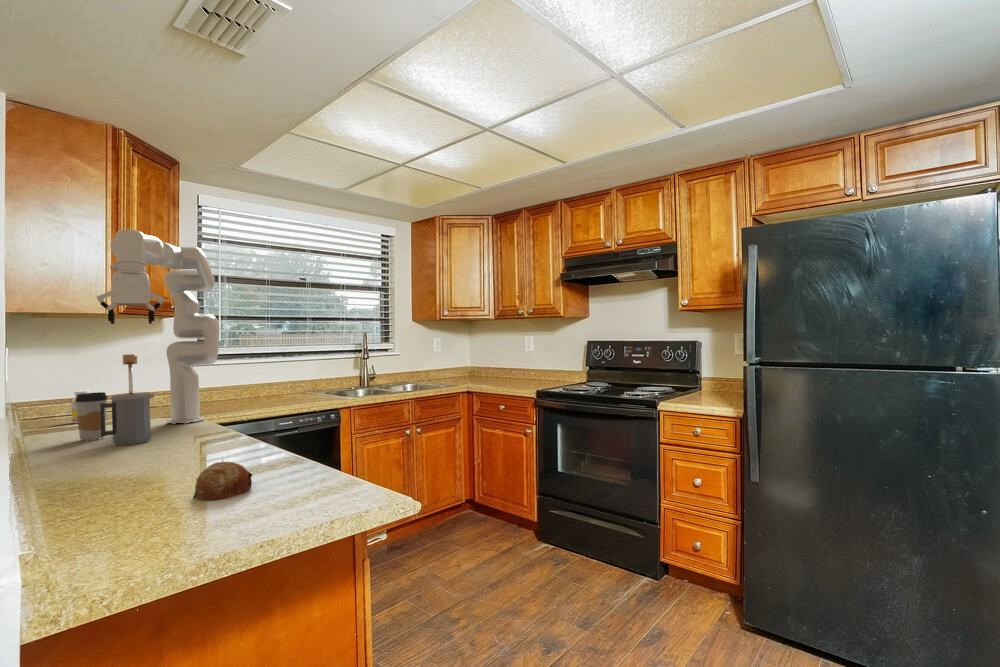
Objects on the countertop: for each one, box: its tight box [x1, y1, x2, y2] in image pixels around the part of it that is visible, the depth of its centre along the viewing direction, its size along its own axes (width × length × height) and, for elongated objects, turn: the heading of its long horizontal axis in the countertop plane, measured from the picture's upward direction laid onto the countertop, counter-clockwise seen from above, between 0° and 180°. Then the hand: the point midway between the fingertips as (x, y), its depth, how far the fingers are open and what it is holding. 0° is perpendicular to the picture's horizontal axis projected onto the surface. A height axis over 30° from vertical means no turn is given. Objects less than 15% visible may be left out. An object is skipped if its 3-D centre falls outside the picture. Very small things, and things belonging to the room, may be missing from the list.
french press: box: [100, 391, 155, 446], centre depth 157 cm, size 9×13×15 cm
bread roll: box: [193, 461, 253, 502], centre depth 100 cm, size 10×10×8 cm
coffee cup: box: [75, 392, 108, 441], centre depth 167 cm, size 8×8×15 cm
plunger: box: [122, 353, 138, 394], centre depth 158 cm, size 6×6×19 cm
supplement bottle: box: [71, 389, 90, 424], centre depth 208 cm, size 7×7×13 cm
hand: (131, 323), depth 160 cm, fingers open, 9 cm apart
